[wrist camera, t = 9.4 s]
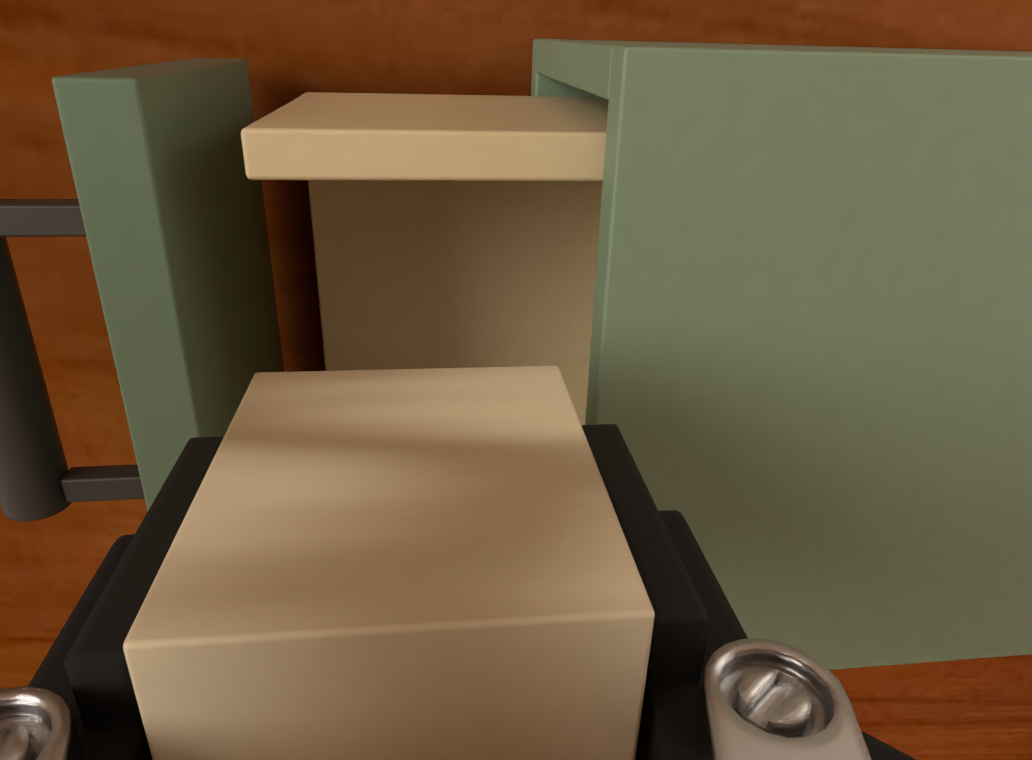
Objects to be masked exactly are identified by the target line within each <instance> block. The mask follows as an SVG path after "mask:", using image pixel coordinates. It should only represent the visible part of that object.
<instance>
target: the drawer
mask: <svg viewBox="0 0 1032 760" xmlns="http://www.w3.org/2000/svg"><path fill="white" fill-rule="evenodd" d="M52 84H53V89H54V93H55V98H56V102H57V106H58V111H59V115H60V120H61V124H62V129H63V133H64V138H65V142H66V147H67V151H68V156H69V160H70V165H71V169H72V174H73V178H74V183H75V187H76V192H77V196H78V199H0V505H1V508H2V511H3V514H4V515H5V516H6V517H7V518H9V519H11V520H14V521H21V522H26V521H35V520H40V519H44V518H47V517H50V516H52V515H55V514H57V513H59V512H61V511H62V510H64V509H65V508H67V507H68V506H69V505H70V504H71V503H72V502H79V501H102V500H125V499H145V501H146V505H147V510H148V511H149V509H150V507H151V505H152V503H153V502H154V500H155V498H156V496H157V495H158V493H159V491H160V489H161V488H162V486H163V484H164V482H165V481H166V479H167V477H168V475H169V474H170V472H171V470H172V468H173V466H174V465H175V463H176V461H177V459H178V458H179V456H180V454H181V452H182V451H183V449H184V447H185V445H186V444H187V442H188V441H189V439H190V438H194V437H224V436H225V434H226V432H227V430H228V428H229V426H230V423H231V421H232V419H233V417H234V415H235V413H236V411H237V409H238V407H239V405H240V403H241V401H242V399H243V397H244V395H245V393H246V391H247V389H248V387H249V385H250V382H251V380H252V378H253V376H254V374H255V373H258V372H284V367H283V359H282V350H281V342H280V333H279V325H278V316H277V308H276V300H275V291H274V283H273V274H272V266H271V257H270V249H269V240H268V232H267V223H266V215H265V207H264V198H263V190H262V181H261V180H308V188H309V198H310V209H311V220H312V231H313V242H314V253H315V263H316V274H317V285H318V296H319V307H320V318H321V328H322V339H323V350H324V361H325V371H345V370H389V369H433V368H477V367H520V366H558V367H559V370H560V373H561V375H562V378H563V380H564V383H565V385H566V388H567V390H568V393H569V396H570V398H571V401H572V403H573V406H574V408H575V411H576V413H577V416H578V418H579V421H580V424H581V425H585V418H586V405H587V391H588V377H589V363H590V350H591V336H592V322H593V308H594V295H595V281H596V267H597V253H598V240H599V226H600V212H601V198H602V185H603V171H604V157H605V143H606V130H607V116H608V102H609V100H607V99H604V98H602V97H554V96H496V95H437V94H379V93H320V92H306V93H304V94H302V95H301V96H300V97H298V98H296V99H294V100H293V101H291V102H289V103H287V104H286V105H284V106H282V107H280V108H278V109H277V110H275V111H273V112H271V113H270V114H268V115H266V116H264V117H263V118H261V119H259V120H257V121H256V122H254V113H253V105H252V97H251V88H250V80H249V71H248V63H247V60H246V59H224V58H193V59H185V60H178V61H170V62H162V63H155V64H147V65H139V66H132V67H124V68H116V69H109V70H101V71H94V72H86V73H78V74H71V75H63V76H55V77H53V78H52ZM29 236H87V241H88V245H89V250H90V254H91V259H92V263H93V268H94V272H95V277H96V281H97V286H98V290H99V295H100V299H101V304H102V308H103V313H104V317H105V322H106V326H107V331H108V335H109V340H110V344H111V349H112V353H113V357H114V362H115V366H116V371H117V375H118V380H119V384H120V389H121V393H122V398H123V402H124V407H125V411H126V416H127V420H128V425H129V429H130V434H131V438H132V443H133V447H134V452H135V456H136V461H137V465H115V466H90V467H72V468H70V470H68V466H67V462H66V459H65V455H64V451H63V448H62V444H61V440H60V436H59V433H58V429H57V425H56V422H55V418H54V414H53V410H52V407H51V403H50V399H49V396H48V392H47V388H46V385H45V381H44V377H43V373H42V370H41V366H40V362H39V359H38V355H37V351H36V347H35V344H34V340H33V336H32V333H31V329H30V325H29V322H28V318H27V314H26V310H25V307H24V303H23V299H22V296H21V292H20V288H19V284H18V281H17V277H16V273H15V270H14V266H13V262H12V259H11V255H10V251H9V247H8V244H7V240H6V237H29Z"/></svg>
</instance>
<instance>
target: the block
mask: <svg viewBox="0 0 1032 760" xmlns="http://www.w3.org/2000/svg"><path fill="white" fill-rule="evenodd" d="M654 616H655V612H654V610H653V607H652V605H651V602H650V600H649V597H648V595H647V592H646V589H645V587H644V584H643V582H642V579H641V577H640V574H639V572H638V569H637V566H636V564H635V561H634V559H633V556H632V554H631V551H630V549H629V546H628V544H627V541H626V538H625V536H624V533H623V531H622V528H621V526H620V523H619V521H618V518H617V515H616V513H615V510H614V508H613V505H612V503H611V500H610V498H609V495H608V492H607V490H606V487H605V485H604V482H603V480H602V477H601V475H600V472H599V470H598V467H597V464H596V462H595V459H594V457H593V454H592V452H591V449H590V447H589V444H588V441H587V439H586V436H585V434H584V431H583V429H582V426H581V424H580V421H579V418H578V416H577V413H576V411H575V408H574V406H573V403H572V401H571V398H570V396H569V393H568V390H567V388H566V385H565V383H564V380H563V378H562V375H561V373H560V370H559V367H558V366H520V367H477V368H433V369H389V370H345V371H301V372H258V373H255V374H254V376H253V378H252V380H251V382H250V385H249V387H248V389H247V391H246V393H245V395H244V397H243V399H242V401H241V403H240V405H239V407H238V409H237V411H236V413H235V415H234V417H233V419H232V421H231V423H230V426H229V428H228V430H227V432H226V434H225V436H224V438H223V440H222V442H221V444H220V446H219V448H218V450H217V452H216V454H215V456H214V458H213V460H212V462H211V464H210V467H209V469H208V471H207V473H206V475H205V477H204V479H203V481H202V483H201V485H200V487H199V489H198V491H197V493H196V495H195V497H194V499H193V501H192V503H191V505H190V508H189V510H188V512H187V514H186V516H185V518H184V520H183V522H182V524H181V526H180V528H179V530H178V532H177V534H176V536H175V538H174V540H173V542H172V544H171V547H170V549H169V551H168V553H167V555H166V557H165V559H164V561H163V563H162V565H161V567H160V569H159V571H158V573H157V575H156V577H155V579H154V581H153V583H152V585H151V588H150V590H149V592H148V594H147V596H146V598H145V600H144V602H143V604H142V606H141V608H140V610H139V612H138V614H137V616H136V618H135V620H134V622H133V624H132V626H131V629H130V631H129V633H128V635H127V637H126V639H125V641H124V644H123V651H124V654H125V658H126V662H127V666H128V669H129V673H130V677H131V681H132V684H133V688H134V692H135V696H136V699H137V703H138V707H139V710H140V714H141V718H142V722H143V725H144V729H145V733H146V737H147V740H148V744H149V748H150V751H151V755H152V759H153V760H635V756H636V748H637V741H638V734H639V726H640V719H641V712H642V704H643V697H644V690H645V682H646V675H647V668H648V660H649V653H650V646H651V638H652V631H653V624H654Z"/></svg>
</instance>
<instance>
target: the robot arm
mask: <svg viewBox="0 0 1032 760" xmlns="http://www.w3.org/2000/svg"><path fill="white" fill-rule="evenodd" d="M581 426H582V429H583V431H584V434H585V436H586V439H587V441H588V444H589V447H590V449H591V452H592V454H593V457H594V459H595V462H596V464H597V467H598V470H599V472H600V475H601V477H602V480H603V482H604V485H605V487H606V490H607V492H608V495H609V498H610V500H611V503H612V505H613V508H614V510H615V513H616V515H617V518H618V521H619V523H620V526H621V528H622V531H623V533H624V536H625V538H626V541H627V544H628V546H629V549H630V551H631V554H632V556H633V559H634V561H635V564H636V566H637V569H638V572H639V574H640V577H641V579H642V582H643V584H644V587H645V589H646V592H647V595H648V597H649V600H650V602H651V605H652V607H653V610H654V612H655V616H654V624H653V631H652V638H651V646H650V653H649V660H648V668H647V675H646V682H645V690H644V697H643V704H642V712H641V719H640V726H639V734H638V741H637V748H636V756H635V760H916V759H914V758H912V757H910V756H908V755H906V754H904V753H902V752H901V751H899V750H897V749H895V748H893V747H891V746H889V745H887V744H885V743H884V742H882V741H880V740H878V739H876V738H874V737H872V736H870V735H868V734H866V733H865V732H863V731H861V730H860V727H859V725H858V722H857V719H856V716H855V714H854V711H853V708H852V706H851V703H850V700H849V698H848V696H847V694H846V692H845V690H844V689H843V687H842V685H841V683H840V682H839V680H838V679H837V678H836V677H835V676H834V675H833V674H832V673H831V672H830V671H829V670H828V669H827V667H826V666H825V665H824V664H822V663H821V662H819V661H818V660H816V659H815V658H813V657H812V656H810V655H809V654H807V653H806V652H804V651H802V650H799V649H797V648H795V647H792V646H790V645H787V644H785V643H782V642H777V641H772V640H767V639H748V637H747V635H746V634H745V632H744V630H743V628H742V626H741V624H740V622H739V620H738V618H737V617H736V615H735V613H734V611H733V609H732V607H731V605H730V603H729V601H728V599H727V598H726V596H725V594H724V592H723V590H722V588H721V586H720V584H719V582H718V580H717V579H716V577H715V575H714V573H713V571H712V569H711V567H710V565H709V563H708V562H707V560H706V558H705V556H704V554H703V552H702V550H701V548H700V546H699V544H698V543H697V541H696V539H695V537H694V535H693V533H692V531H691V529H690V527H689V525H688V524H687V522H686V520H685V518H684V517H683V515H682V514H681V513H680V512H679V511H677V510H663V511H658V509H657V507H656V505H655V503H654V501H653V499H652V497H651V495H650V493H649V490H648V488H647V486H646V484H645V482H644V480H643V478H642V476H641V474H640V472H639V470H638V468H637V466H636V463H635V461H634V459H633V457H632V455H631V453H630V451H629V449H628V447H627V445H626V443H625V441H624V438H623V436H622V434H621V432H620V430H619V428H618V426H617V425H616V424H597V425H581ZM223 438H224V437H194V438H190V439H189V441H188V442H187V444H186V445H185V447H184V449H183V451H182V452H181V454H180V456H179V458H178V459H177V461H176V463H175V465H174V466H173V468H172V470H171V472H170V474H169V475H168V477H167V479H166V481H165V482H164V484H163V486H162V488H161V489H160V491H159V493H158V495H157V496H156V498H155V500H154V502H153V503H152V505H151V507H150V509H149V511H148V512H147V514H146V516H145V518H144V519H143V521H142V523H141V525H140V526H139V528H138V530H137V532H136V533H135V535H124V536H122V537H119V538H118V539H117V540H116V542H115V543H114V544H113V545H112V547H111V549H110V550H109V552H108V554H107V555H106V557H105V559H104V560H103V562H102V564H101V565H100V567H99V569H98V570H97V572H96V574H95V575H94V577H93V579H92V580H91V582H90V584H89V585H88V587H87V589H86V590H85V592H84V594H83V595H82V597H81V599H80V600H79V602H78V604H77V605H76V607H75V609H74V610H73V612H72V614H71V615H70V617H69V619H68V620H67V622H66V624H65V625H64V627H63V629H62V630H61V632H60V634H59V635H58V637H57V639H56V640H55V642H54V644H53V645H52V647H51V649H50V650H49V652H48V654H47V655H46V657H45V659H44V660H43V662H42V664H41V665H40V667H39V669H38V670H37V672H36V674H35V676H34V677H33V679H32V681H31V682H30V684H29V686H25V687H16V688H6V689H0V760H153V759H152V755H151V751H150V748H149V744H148V740H147V737H146V733H145V729H144V725H143V722H142V718H141V714H140V710H139V707H138V703H137V699H136V696H135V692H134V688H133V684H132V681H131V677H130V673H129V669H128V666H127V662H126V658H125V654H124V651H123V644H124V641H125V639H126V637H127V635H128V633H129V631H130V629H131V626H132V624H133V622H134V620H135V618H136V616H137V614H138V612H139V610H140V608H141V606H142V604H143V602H144V600H145V598H146V596H147V594H148V592H149V590H150V588H151V585H152V583H153V581H154V579H155V577H156V575H157V573H158V571H159V569H160V567H161V565H162V563H163V561H164V559H165V557H166V555H167V553H168V551H169V549H170V547H171V544H172V542H173V540H174V538H175V536H176V534H177V532H178V530H179V528H180V526H181V524H182V522H183V520H184V518H185V516H186V514H187V512H188V510H189V508H190V505H191V503H192V501H193V499H194V497H195V495H196V493H197V491H198V489H199V487H200V485H201V483H202V481H203V479H204V477H205V475H206V473H207V471H208V469H209V467H210V464H211V462H212V460H213V458H214V456H215V454H216V452H217V450H218V448H219V446H220V444H221V442H222V440H223Z"/></svg>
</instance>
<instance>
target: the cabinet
mask: <svg viewBox="0 0 1032 760" xmlns="http://www.w3.org/2000/svg"><path fill="white" fill-rule="evenodd" d="M531 96H554V97H602V98H604V99H607V100H609V102H608V116H607V130H606V143H605V157H604V171H603V185H602V198H601V212H600V226H599V240H598V253H597V267H596V281H595V295H594V308H593V322H592V336H591V350H590V363H589V377H588V391H587V405H586V418H585V425H597V424H616V425H617V426H618V428H619V430H620V432H621V434H622V436H623V438H624V441H625V443H626V445H627V447H628V449H629V451H630V453H631V455H632V457H633V459H634V461H635V463H636V466H637V468H638V470H639V472H640V474H641V476H642V478H643V480H644V482H645V484H646V486H647V488H648V490H649V493H650V495H651V497H652V499H653V501H654V503H655V505H656V507H657V509H658V511H663V510H677V511H679V512H680V513H681V514H682V515H683V517H684V518H685V520H686V522H687V524H688V525H689V527H690V529H691V531H692V533H693V535H694V537H695V539H696V541H697V543H698V544H699V546H700V548H701V550H702V552H703V554H704V556H705V558H706V560H707V562H708V563H709V565H710V567H711V569H712V571H713V573H714V575H715V577H716V579H717V580H718V582H719V584H720V586H721V588H722V590H723V592H724V594H725V596H726V598H727V599H728V601H729V603H730V605H731V607H732V609H733V611H734V613H735V615H736V617H737V618H738V620H739V622H740V624H741V626H742V628H743V630H744V632H745V634H746V635H747V637H748V639H767V640H772V641H777V642H782V643H785V644H787V645H790V646H792V647H795V648H797V649H799V650H802V651H804V652H806V653H807V654H809V655H810V656H812V657H813V658H815V659H816V660H818V661H819V662H821V663H822V664H824V665H825V666H826V667H827V669H828V670H834V669H847V668H860V667H873V666H886V665H899V664H912V663H925V662H938V661H951V660H964V659H977V658H990V657H1003V656H1016V655H1029V654H1032V52H1027V51H989V50H951V49H912V48H874V47H836V46H798V45H760V44H722V43H683V42H645V41H607V40H569V39H534V41H533V50H532V82H531Z"/></svg>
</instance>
